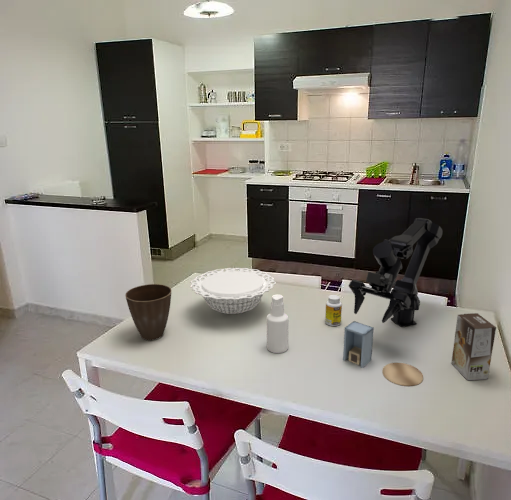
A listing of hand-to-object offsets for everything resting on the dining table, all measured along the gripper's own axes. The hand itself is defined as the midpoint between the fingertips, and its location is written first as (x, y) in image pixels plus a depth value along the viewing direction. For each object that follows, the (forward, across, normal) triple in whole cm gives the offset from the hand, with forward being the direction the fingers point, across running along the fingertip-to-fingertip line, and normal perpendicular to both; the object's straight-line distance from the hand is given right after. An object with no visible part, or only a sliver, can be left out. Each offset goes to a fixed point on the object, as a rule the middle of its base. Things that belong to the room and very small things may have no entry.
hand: (368, 317), depth 128 cm
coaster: (+11, +14, +6) cm, 18 cm away
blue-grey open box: (+12, 0, +5) cm, 13 cm away
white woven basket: (+13, -52, +4) cm, 54 cm away
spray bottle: (+20, -23, -2) cm, 30 cm away
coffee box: (+1, +27, +16) cm, 31 cm away
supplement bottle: (+1, -19, +16) cm, 25 cm away
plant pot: (+35, -61, -17) cm, 72 cm away
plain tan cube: (+13, 0, +4) cm, 13 cm away
